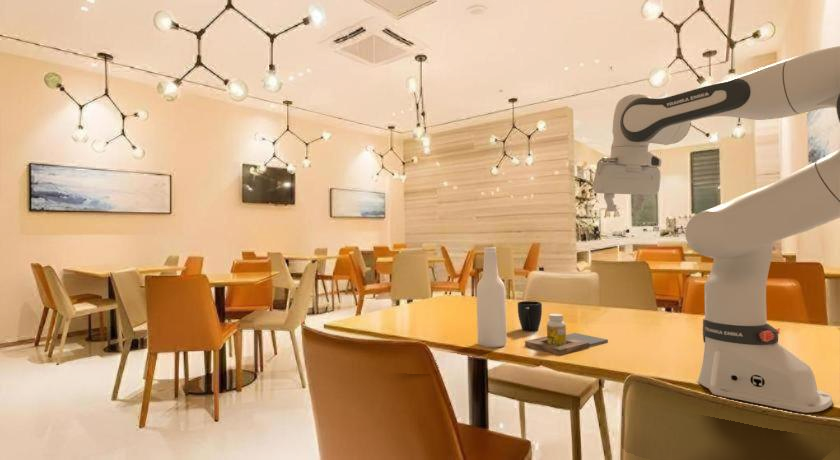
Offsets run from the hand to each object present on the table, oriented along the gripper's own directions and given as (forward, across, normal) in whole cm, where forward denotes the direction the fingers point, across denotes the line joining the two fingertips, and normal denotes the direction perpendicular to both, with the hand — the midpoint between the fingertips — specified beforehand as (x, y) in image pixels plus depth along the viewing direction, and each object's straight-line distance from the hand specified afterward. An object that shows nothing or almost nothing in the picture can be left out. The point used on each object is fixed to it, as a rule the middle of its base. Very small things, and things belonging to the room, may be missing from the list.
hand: (624, 211), depth 120 cm
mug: (+44, -1, +37) cm, 57 cm away
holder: (+41, -7, +15) cm, 45 cm away
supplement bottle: (+42, -7, +15) cm, 45 cm away
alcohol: (+43, -22, +26) cm, 55 cm away
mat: (+41, +5, +18) cm, 45 cm away
